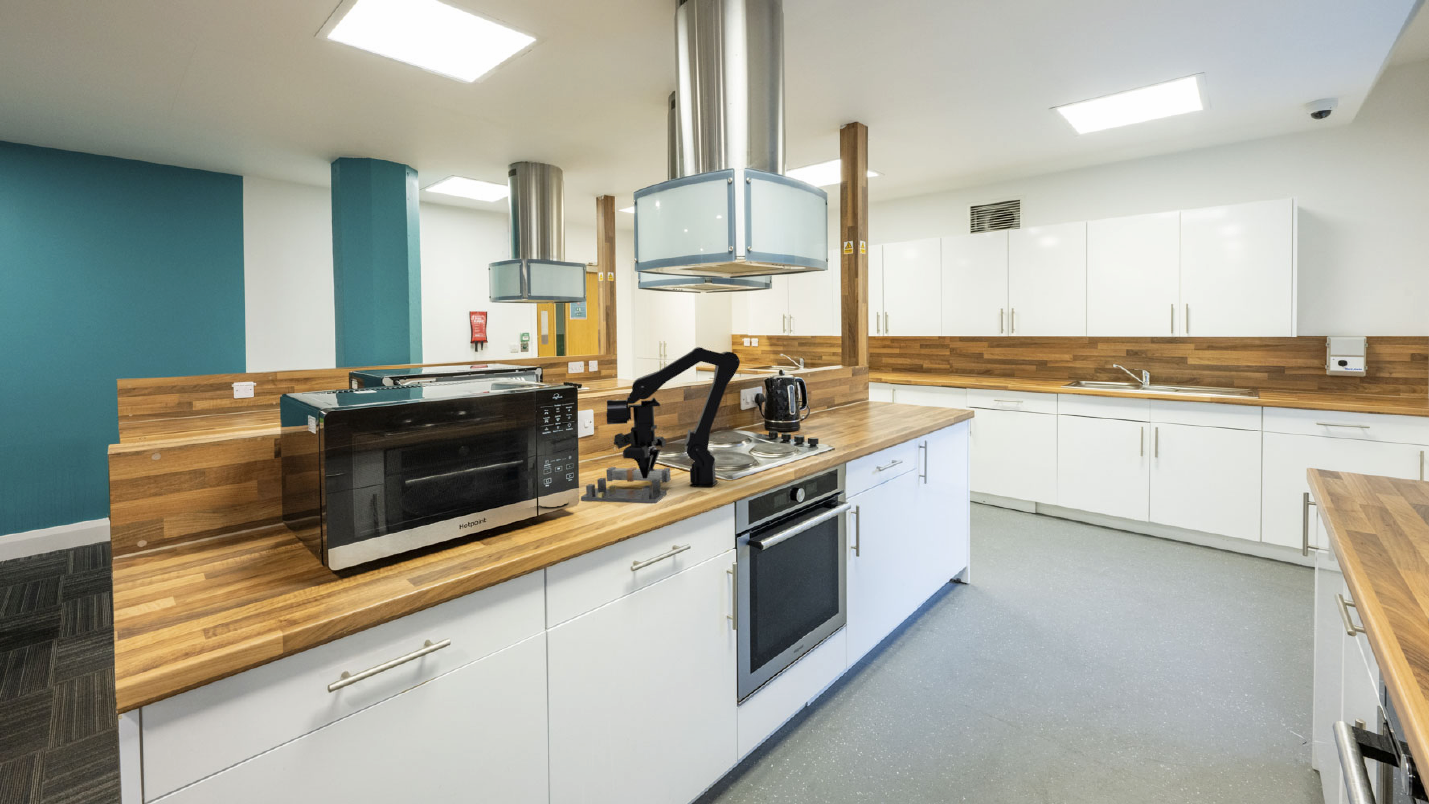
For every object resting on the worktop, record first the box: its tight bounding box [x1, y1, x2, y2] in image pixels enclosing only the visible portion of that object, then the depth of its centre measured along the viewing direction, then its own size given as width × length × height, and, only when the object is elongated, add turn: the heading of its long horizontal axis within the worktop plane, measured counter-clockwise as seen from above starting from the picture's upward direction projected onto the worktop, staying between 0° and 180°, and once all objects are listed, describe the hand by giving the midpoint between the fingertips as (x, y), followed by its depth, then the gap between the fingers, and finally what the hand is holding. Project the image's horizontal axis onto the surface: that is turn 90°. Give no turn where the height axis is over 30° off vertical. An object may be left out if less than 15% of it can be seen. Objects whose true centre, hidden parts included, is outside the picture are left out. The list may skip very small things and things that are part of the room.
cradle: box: [580, 477, 667, 504], centre depth 161 cm, size 21×9×4 cm, turn 76°
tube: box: [605, 466, 672, 484], centre depth 170 cm, size 18×3×3 cm, turn 76°
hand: (646, 476), depth 170 cm, fingers closed on tube, 3 cm apart
